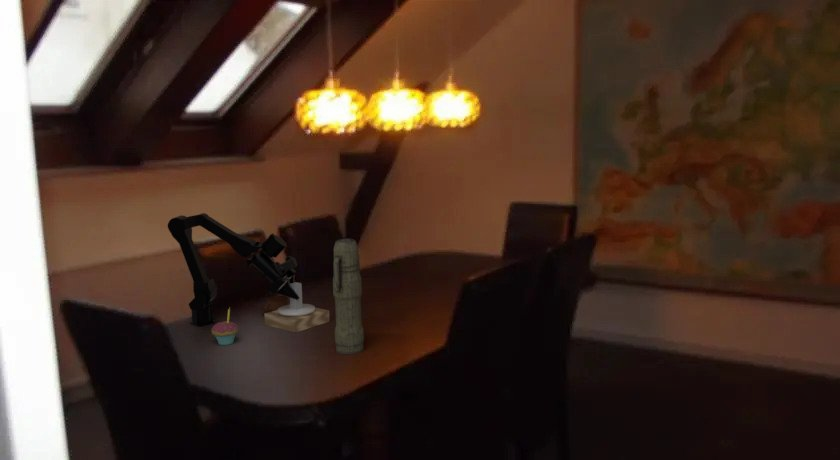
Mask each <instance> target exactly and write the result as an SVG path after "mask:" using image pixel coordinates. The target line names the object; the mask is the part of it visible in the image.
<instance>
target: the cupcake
mask: <svg viewBox="0 0 840 460" xmlns="http://www.w3.org/2000/svg"><path fill="white" fill-rule="evenodd" d="M230 313H231V307H229V308H228V309H227V317H226V318H227V320H225V321H219V322H216V323H215V324H214V325H213V326H212V327H211V335H213V336H214V337H215V338H216V341H217V342H218V343H217V344H218V345H220V346H228V345H232V344H233V343H234V341H235V337H236V334H237V333H238V332H239V328H240V327H239V325H238V324H237V323H235V322H233V321H230V316H231V314H230Z"/></svg>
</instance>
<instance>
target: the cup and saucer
mask: <svg viewBox="0 0 840 460" xmlns="http://www.w3.org/2000/svg"><path fill="white" fill-rule="evenodd" d="M288 298H289V297H287V296H284V295H272V296H269V297H268V298H267V303H266V305H265V306H264V308H263V307H262V308H261V313H262V314H263V315H264V314H265V313H269V312H272V311H276V310H278V308H280V307H282V306H285V305H289V299H288Z"/></svg>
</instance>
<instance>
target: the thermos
mask: <svg viewBox="0 0 840 460" xmlns="http://www.w3.org/2000/svg"><path fill="white" fill-rule="evenodd" d="M332 265H333V270H332V271H333V277H332V290H333V291H332V294H333V298H334V303H335V305H334V306H335V307H334V308H335V328H334V343H335V351H336V353H338V354H340V355H341V354H342V355H353V354H359V353H361V352H363V351H364V349H365V348H364V342H365V339H364V338H365V335H364V327H363V324H362V301H361V299H362V295H363V288H362V287H363V285H362V281H363V280H362V276H361V269H360V268H361V266H360V254H359V247H358V244H357V242H356V240H355V239H353V238H339V239H338V240H336V241H335V242H334V246H333V262H332Z"/></svg>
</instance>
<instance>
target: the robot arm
mask: <svg viewBox="0 0 840 460" xmlns="http://www.w3.org/2000/svg"><path fill="white" fill-rule="evenodd" d="M199 226H200V227H201V228H203V229H204V230H206V231H208V232H209V233H211V234H213V235H215V236H216V237H218V238H219V239H220V240H223V241H224V242H225V243H227V244H228V245H229V246H230V247H231V248H232V250H233V251H234V252H236V254H238V255H239V256H240V257H243V258H247V259H246V268H249V267H251V266H252V265H253V266H254V267H256V269H257V270H258V271H259V272H260V273H262V277H263V278H264V279H265V278H267V279H268V280H269V281H270V282H271V284H270V286H269V287H268V289H267V290H268V292H269V294H271V296H274V295H275V294H278V295H280V296H286V297H288V298H289V299H290V298H293V299H296V300H298V299H299V296H298V295H297V294H296V292H295V291H294V290H293V289H292V287H291V286H290V284H291V283H295V282H296V281H295V277H296V275H295V273H296V272H297V270H296V268H297V267H298V263H297V259H296V258H295V257H293V256H291V255H289V256H286V257H285V260H284V261H283V262H281V263H280V262H279V261H274V260H273V259H272V258H277V257H278V256H279V255H280V254H281V253H282V252H283V251H284V250H285V249H286V248H287V246H288V244H287V242H286V241H285V240H284V239H283V238H282V237H280V236H278V235H276V234H275V233H270V235H269V236H268V237H267V238H266V240H265V241H264V242H263V241H262V242H261V241H256V240H255V239H254V238H252V237H249V236H247V235H244V234H241V233H237V232H235V231H233V230H232V229H230V227H229V228H228V227H227V226H225V225H224V224H223V223H221V222H219V221H218V220H216V219H214V218H213V217H211V216H209V215H208V214H207V213H205V212H202V213H200V214H195V215H190V216H186V215H184V214H183V215H178V216H175V217H172V218H171V219H170V220H169V221H168V222H167V229H168V231H169V232H170V234H171V236H172V238H174V240H175V241H176V242H177V243H178V244H179V247H180V250H181V252H182V256H183V257H184V260H185V262H186V266H187V267H188V270H189V273H190V275H191V278H192V281H193V284H192V285H193V286H192V287H193V289H192V290H193V295H194V296H193V297H194V298H193V299H192V300H191V301H190V302H189V303H188V307H189V309H190V310H191V311H190V312H191V321H189V324H190V325H193V326H196V327H197V326H198V327H203V326H207V325H210V324H214V323H215V322H216V321H215V320H214V313H213V308H212V305H211V304H212V303H213V300H214V299H215V298H217V297H216V296H217V295H218V291H217V290H218V289H219V288H218V286H217V285H216V284H215V283H216V282H215V279H214V278H212V279H209V278H208V276H207V275H206V272H205V270H204V266H203V265H202V261H201V259H200V257H199V253H198V251H197V249H196V246H195V243H194V240H193V229H192V228H196V227H199ZM259 251H260V252H259ZM258 252H259V253H258ZM249 256H251V258H249Z"/></svg>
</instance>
